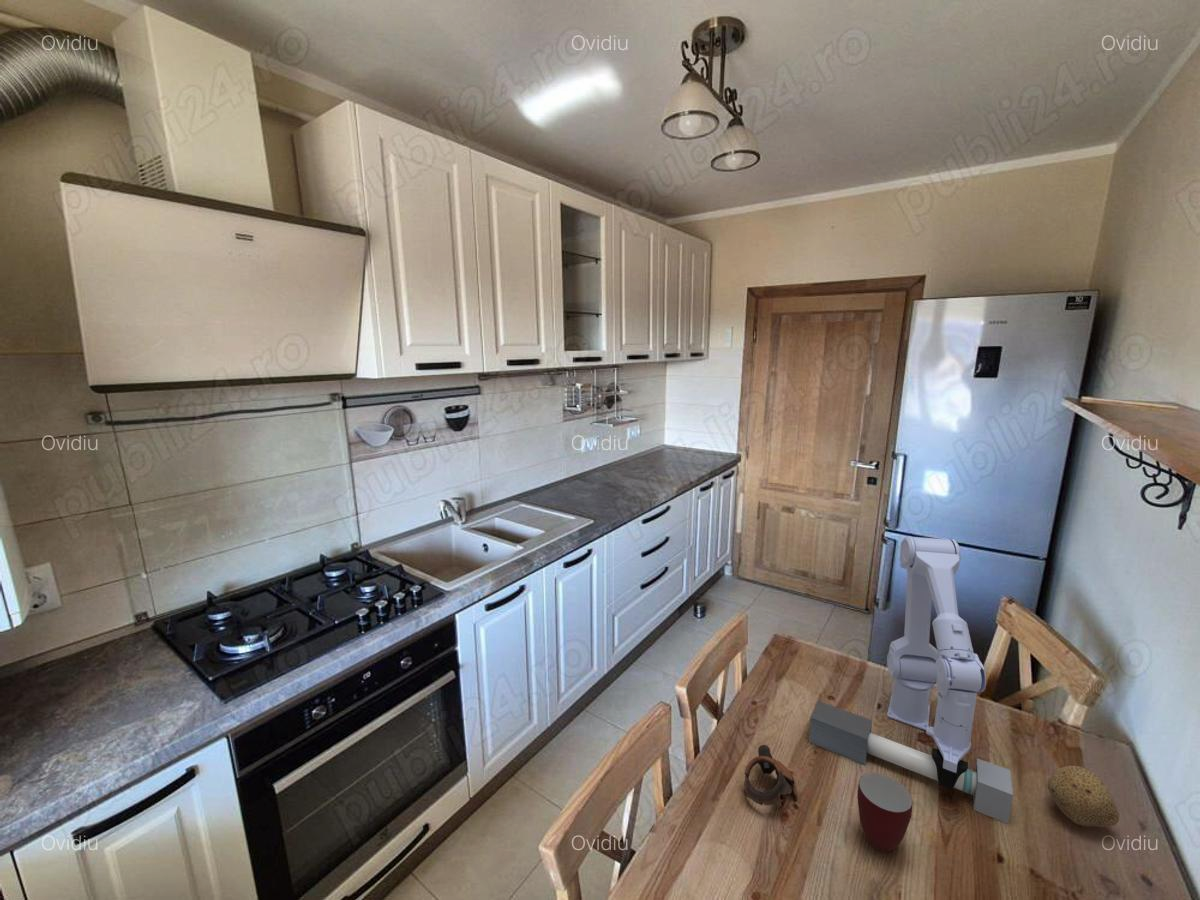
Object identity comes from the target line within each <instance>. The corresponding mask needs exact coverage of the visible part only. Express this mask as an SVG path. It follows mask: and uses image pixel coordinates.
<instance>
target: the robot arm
mask: <svg viewBox="0 0 1200 900" xmlns="http://www.w3.org/2000/svg"><path fill="white" fill-rule="evenodd" d="M899 551H900V552H899V563H900V564H899V565H900V568H902V569H905V570H906V574H907V575H906V576H907V578H906V581H907V582H906V594H905V595H906V596H905V597H906V600H905V612H904V613H905V615H904V617H905V618H904V631H903V632H904V633H903V634H904V635H903V636H902V637H899V638H897V639H895V640H892V641H891V642H890V645H889V650H888V653H887V656H886V663H887V664H886V665H887V666H886V667H887V669H888V670H887V671H888V674H889V675H890V676H891V678H892V679H893V683H892V684H893V685H892V693H891V694H890V700H889V705H888V709H887V714H886V716H887V718H888V719H889V718H890V719H893V720H895V721H898V722H901V723H904V724H906V725H909V726H912V727H914V728H917V729H921V730H923V731H925V733H926V734H927V735H928V736H930V737H932V739H933V740H934V742H935V744H936V748H935V747H934V746H933V747H931V756H932V758H933V760H934V762H935V764H936V768H937V775H938V781H937V782H938V785H939V786H940V787H943V788H945V789H948V790H950V791H952V790H953V789H955V788H954V786H955V784H956V782H957V780H958V778H959V776H960V775H961V774H963V773H964V772H966V771H967V769H969V762H967V761H965V760H962V759H963V758H964V756H965V755H967V753H968V752H969V751H970V750H971V748H972V742H971V738H972V731H973V730H972V729H973V723H974V717H975V716H974V715H975V709H976V703H977V696H978V692H979V693H984V691H985V690H986V687H987V686H986V685H987V675H986V670H985V667H984V665H983V663H982V662H981V660H980V658H979V655H978V654H977V653H975V652H974V648H973V645H972V644H973V643H972V639H971V635H970V631H969V626H968V623H967V621H966V620H964V619H963V618H962V617H960V615H959V609H958V600H957V592H956V584H955V574H956V573H957V571H958V569H959V567H960V563H961V559H962V552H961V548H960V545H959V543H958V542H957V541H956V540H955V539H954V538H948V539H947V538H934V537H933V538H932V537H919V536H918V537H917V536H910V535H907V536H905V537H904V538H903V539H902V541H901V542H900V549H899ZM932 602H933V606H934V609H935V613H936V618H934V619H933V621H932V622H931V615H932V614H931V613H932ZM931 623H932V628H933V634H934V640H935V645H936V647H935V646H933V645H932V644H931V643H930V632H931V631H930V630H931ZM935 687H936V690H937V691H938V692H937V693H938V694H937V703H936V710H935V714H934V715H935V718H934V725H933V726H929V721H930V710H931V706H930V705H929V703H930V696H931V689H934V688H935Z"/></svg>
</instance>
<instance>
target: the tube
mask: <svg viewBox="0 0 1200 900" xmlns="http://www.w3.org/2000/svg"><path fill="white" fill-rule="evenodd" d="M867 753H868V754H869V755H871V756H874V757H876V758H879V759H880V760H884V761H886V762H889V763H891V764H894V765H896V766H899V767H901V768H904V769H906V770H909V771H912V772H914V773H916V774H919V775H921V776H924V777H926V778H929V779H931V780H934V781H937V782H938V775H937V768H936V764H935V762H934V760H933V758H932V754H931V755H930V754H929V753H925V752H922V751H920V750H917V749H915V748H912V747H910V746H907V745H904V744H901V743H900V742H896V741H893V740H891V739H888V738H885V737H883V736H880V735H878V734H875V733H872V732H871V733H870V734H869V738H868V745H867ZM976 787H977V773H976V772H975V771H974V770H971V769H969V768H968V769H967V771H966V772H964V773H963V774H961V775H960V776H959V778H958V780H957V782H956V784H955V786H954V788H953V789H957V790H959V791H961V792H963V793H966V794H969V795H971V796H973V795H974V796H975V794H976Z"/></svg>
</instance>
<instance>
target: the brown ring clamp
mask: <svg viewBox="0 0 1200 900" xmlns="http://www.w3.org/2000/svg"><path fill="white" fill-rule="evenodd" d="M757 752H758V756H756V757H754V758H753V759H751V760H750V761H748V763H747V765H746V766H745V769H744V775H745V776H744V782H743V784H744V791H745V794H746V796H747V797H748V798H749V799H750V800H751V801H753V802H754V803H756V804H758V805H760V806H763V805H764V806H772V805H773V806H774V805H775V806H779V807H783V805H782V801H781V795H784V796H785V795H791V794H792V791H793V793H794V799H795V801H799V796H798V788H797V786H796V783H795V778H794V777H793V775H792V773H791V771H790V770H789V769H788V768H787V767H786V766H785V764H783V763H782V762H781V761H779V760H777V759H775V758H774V757H773V756H772V753H771V749H770V747H769V746H768V745H767V744H761V745H760V746H758V750H757ZM757 764H758V765H759V767H760V770H761V772H762V774H763V775H772V773H773V772H774V771H775V776H776V779H777V782H776V785H775V786H774V788H772V789H770V790H768V791H761V790H757V789H756V788H755V787H754V786H753V785H752V783H751V782H750V774H751V771H752V769H753V768H754V767H755V766H756V765H757ZM780 794H781V795H780Z"/></svg>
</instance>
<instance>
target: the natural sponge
mask: <svg viewBox="0 0 1200 900" xmlns="http://www.w3.org/2000/svg"><path fill="white" fill-rule="evenodd" d="M1047 789H1048V791H1049V794H1050V796H1051V798H1052V799H1053V801H1054V803H1056V805H1057V807H1058V808H1059V809H1060V811H1061V812H1062V813H1063V814H1064V815H1065V817H1067V818H1068V820H1070V821H1071V822H1073V823H1075V825H1076V824H1077V825H1079V826H1083V827H1103V828H1110V827H1114V826H1116V825H1117V824H1118V823H1119V820H1120V813H1119V810H1118V807H1117V805H1116V803H1115V800H1114V798H1113V796H1112V793H1111V791H1110V790H1109V788H1108V787H1107V785H1106V784H1105V782H1104V781H1103V780H1102V779H1101V778H1100V777H1099V776H1098V775H1097V774H1095V773H1094V772H1092V771H1090V770H1088V769H1087V768H1084V767H1082V766H1077V765H1067V766H1066V765H1065V766H1062V767H1060V768H1058V769H1056V770H1055V771H1054V772H1052V774H1051V775H1050V777H1049V779H1048V781H1047Z"/></svg>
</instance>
